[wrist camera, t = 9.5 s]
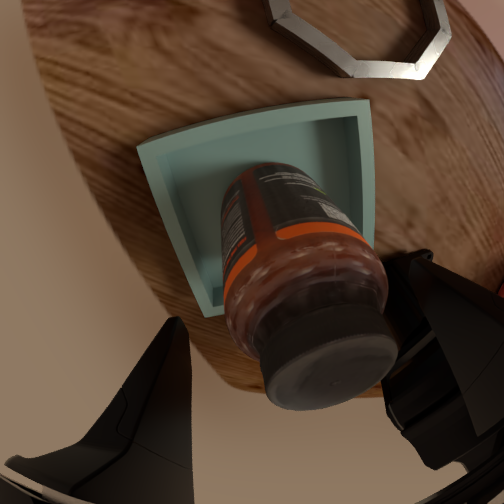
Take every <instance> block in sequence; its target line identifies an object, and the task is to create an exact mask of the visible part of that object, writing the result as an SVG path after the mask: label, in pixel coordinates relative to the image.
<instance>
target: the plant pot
mask: <svg viewBox="0 0 504 504" xmlns="http://www.w3.org/2000/svg"><path fill="white" fill-rule="evenodd" d="M497 295H499V296H501V297H503V298H504V283H503V284H502V286H501V288H500V290H499V292H498V294H497Z"/></svg>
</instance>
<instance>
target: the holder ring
mask: <svg viewBox="0 0 504 504" xmlns="http://www.w3.org/2000/svg"><path fill="white" fill-rule="evenodd" d="M262 2H263V5H264V9H265V13H266V16H267V20H268V24H269V26H272V27H271V29H273V30H275V31H276V32H278V33H280V34H281V35H283V36H284V37H286V38H287V39H289V40H290V41H292V42H293V43H295V44H296V45H298V46H299V47H301V48H302V49H304V50H305V51H307V52H308V53H309V54H311V55H312V56H314V57H315V58H316V59H318V60H319V61H320V62H322V63H323V64H324V65H326V66H327V67H328V68H329V69H331V70H332V71H333V72H334V73H336V74H337V75H338V76H339V77H343V78H367V77H373V78H404V79H418V80H422V79H424V78H425V76H426V75H427V73H428V72H429V70H430V69H431V67H432V66H433V64H434V63H435V62H436V60H437V59H438V57H439V56H440V54H441V53H442V51H443V50H444V48H445V47H446V45H447V44H448V42H449V41H450V39H451V36H452V35H451V30H450V26H449V21H448V17H447V13H446V10H445V6H444V3H443V0H420V4H421V7H422V11H423V15H424V19H425V23H426V27H427V31H426V32H425V33H424V35H423V36H422V37H421V39H420V40H419V42H418V43H417V44H416V46H415V47H414V48H413V50H412V51H411V52H410V54H409V55H408V56H407V58H406V59H405V61H404V62H403V63H401V62H388V61H364V60H355V59H354V58H353V57H352V56H351V55H349V54H348V53H347V52H346V51H345V50H343V49H342V48H341V47H340V46H338V45H337V44H336V43H335V42H333V41H332V40H331V39H329V38H328V37H327V36H326V35H324V34H323V33H321V32H320V31H319V30H317V29H316V28H314V27H313V26H312V25H310V24H309V23H307V22H306V21H304V20H303V19H301V18H300V17H298V16H297V15H295V14H294V13H292V10H291V6H290V3H289V0H262Z"/></svg>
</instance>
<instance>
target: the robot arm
mask: <svg viewBox="0 0 504 504" xmlns="http://www.w3.org/2000/svg"><path fill="white" fill-rule="evenodd" d="M432 260H433V252H432V251H431V250H429V249H428V250H425V251H421V252H418V253H415V254H411V255H408V256H404V257H401V258H397V259H394V260H390V261H387V262H383V263H382V264H383V267H384V269H385V272H386V275H387V280H388V297H387V301H386V305H385V309H384V312H383V314H382V315H383V317H384V319H385V321H386V324H387V327H388V328H389V330H390V332H391V334H392V336H393V337H394V339H395V342H396V344H397V348H398V356H397V358H396V361H395V364H394V365H393V366H392V368H391V370H390V371H389V372H388V373H387V374H386V376H385V377H384V378H383V379H382V380H381V385H382V390H383V396H384V401H385V407H386V413H387V416H388V417H389V418H390V419H391V421H392V423H393V424H394V426H395V427H396V428H397V429H398V430H400V431H401V435H402V436H403V437H405V438H406V439H407V440H408V441H409V442H410V443H411V444H412V445H413V446H414V447H415V449H416V451H417V452H418V454H419V455H420V457H421V459H422V461H423V463H424V464H425V465H426V466H427V467H430V468H431V469H433V470H438V469H440V468H442V467H443V466H446V465H447V464H449V463H451V462H459V463H461V464H462V465H463V466H464V468H465V469H466V471H467V474H466V475H464V476H463V477H461V478H460V479H458V480H457V481H455V482H453V483H452V484H450V485H448V486H447V487H445V488H443V489H442V490H440V491H438V492H436V493H434V494H433V495H431V496H429V497H427V498H425V499H423V500H421V501H419V502H417V503H415V504H504V298H503V297H501V296H499V295H497V294H495V293H494V292H492V291H489V290H488V289H486V288H484V287H482V286H480V285H478V284H476V283H474V282H472V281H470V280H468V279H466V278H464V277H462V276H460V275H458V274H456V273H454V272H452V271H450V270H448V269H446V268H444V267H442V266H440V265H437V264H435V263H433V262H432ZM191 396H192V366H191V356H190V343H189V333H188V330H187V328H186V327H185V325H184V323H183V321H182V320H181V318H180V317H179V316H175V317H170V318H168V319H167V320H166V322H165V324H164V325H163V326H162V328H161V329H160V331H159V332H158V333H157V335H156V336H155V338H154V339H153V341H152V342H151V344H150V345H149V346H148V348H147V349H146V351H145V352H144V354H143V355H142V357H141V358H140V360H139V361H138V363H137V364H136V366H135V367H134V369H133V370H132V371H131V373H130V374H129V376H128V377H127V379H126V381H125V382H124V384H123V385H122V388H120V389H119V391H118V392H117V394H116V395H115V397H114V398H113V400H112V401H111V403H110V404H109V405H108V407H107V408H106V409H105V411H104V412H103V413H102V415H101V416H100V417H99V418H98V420H97V421H96V422H95V423H94V425H93V426H92V427H91V428H90V430H89V431H88V432H87V434H86V435H85V436H84V437H83V438H82V439H81V440H80V441H79V442H77V443H75V444H74V445H71V446H69V447H66V448H63V449H60V450H58V451H54V452H51V453H48V454H45V455H42V456H39V457H35V458H24V457H22V456H19V455H15V456H12V457H11V458H9V459H8V460H7V461H6V462H5V464H4V465H5V466H7V467H8V468H10V469H12V470H14V471H15V472H18V473H19V474H21V475H23V476H25V477H27V478H29V479H31V480H33V481H35V482H37V483H39V484H41V485H43V486H42V492H39V491H37V490H34V489H32V488H29V487H27V486H25V485H23V484H21V483H18V482H16V481H14V480H12V479H10V478H8V477H6V476H4V475H2V474H0V504H194V489H193V471H192V432H191V431H192V429H191V400H192V399H191V398H192V397H191Z"/></svg>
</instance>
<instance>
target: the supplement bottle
mask: <svg viewBox="0 0 504 504" xmlns="http://www.w3.org/2000/svg"><path fill="white" fill-rule="evenodd" d="M220 222H221V252H222V275H223V297H224V313H225V320H226V324H227V327H228V330H229V333H230V335H231V337H232V339H233V340H234V342H235V343H236V345H237V346H238V347H239V348H240V349H241V350H242V351H243V352H244V353H245V354H246V355H248V356H249V357H251V358H253V359H254V360H257V361H259V362H260V367H261V372H262V374H263V378H264V385H265V391H266V395H267V397H268V398H269V400H270V401H271V402H272V403H274V404H275V405H276V406H279V407H281V408H284V409H287V410H295V411H305V410H316V409H323V408H326V407H330V406H333V405H337V404H340V403H343V402H345V401H348V400H350V399H352V398H354V397H356V396H358V395H360V394H362V393H364V392H366V391H367V390H369V389H370V388H372V387H373V386H374V385H376V384H377V383H378V382H379V381H381V380H382V379H383V378H384V377H385V376H386V374H387V373H388V372H389V371H390V370H391V368H392V366H393V365H394V364H395V361H396V358H397V356H398V348H397V344H396V342H395V339H394V337H393V336H392V334H391V332H390V330H389V328H388V327H387V324H386V321H385V319H384V317H383V315H382V314H383V312H384V309H385V305H386V301H387V297H388V280H387V275H386V272H385V269H384V267H383V264H382V262H381V261H380V259H379V258H378V256H377V254H376V253H375V251H374V250H373V249H372V248H371V246H370V245H369V244H368V243H367V241H366V240H365V238H364V237H363V236H362V234H361V233H360V232H359V231H358V230H357V228H356V227H355V226H354V225H353V224H352V222H351V221H350V220H349V219H348V218H347V217H346V215H345V214H344V213H343V212H342V211H341V210H340V209H339V208H338V206H337V205H336V204H335V203H334V202H333V201H332V200H331V199H330V197H329V196H328V195H327V194H326V193H325V192H324V191H323V190H322V189H321V188H320V186H319V185H318V184H317V183H316V182H315V181H314V180H313V179H312V178H311V177H310V176H309V175H307V174H306V173H305V172H304V171H302V170H300V169H299V168H297V167H295V166H292V165H289V164H284V163H279V162H277V163H276V162H269V163H263V164H259V165H256V166H254V167H252V168H250V169H247V170H246V171H244V172H243V173H241V174H240V175H239V176H237V177H236V178H235V179H234V180H233V182H232V183H231V184H230V186H229V187H228V189H227V191H226V193H225V195H224V198H223V201H222V206H221V221H220Z"/></svg>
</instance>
